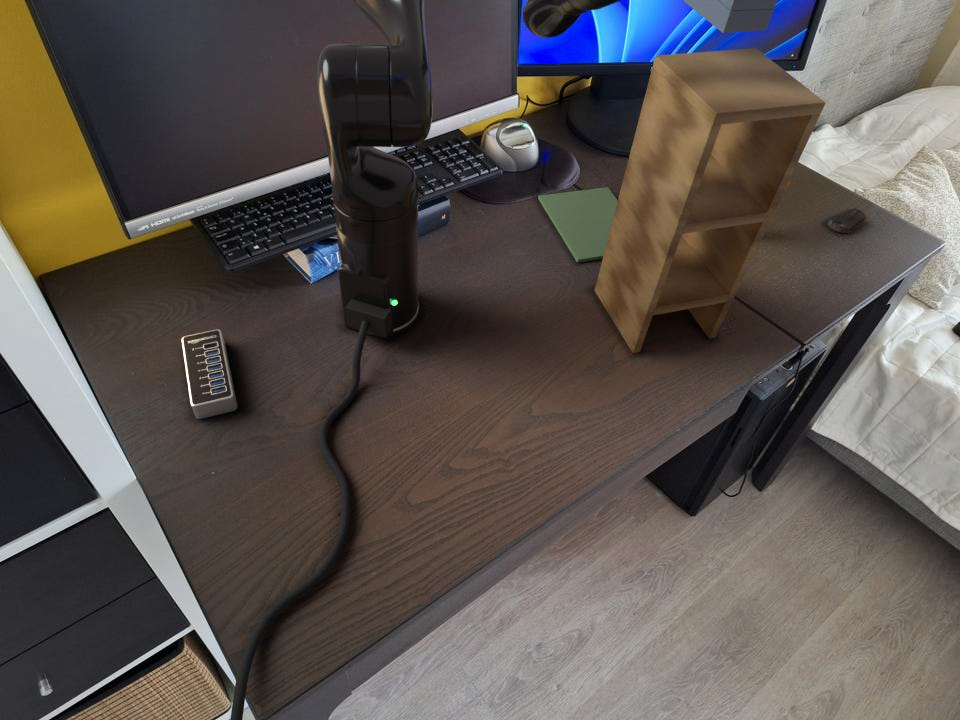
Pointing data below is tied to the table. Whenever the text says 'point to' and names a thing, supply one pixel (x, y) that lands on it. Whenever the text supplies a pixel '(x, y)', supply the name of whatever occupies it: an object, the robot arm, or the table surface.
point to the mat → (582, 220)
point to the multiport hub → (208, 374)
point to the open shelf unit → (701, 185)
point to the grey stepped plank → (735, 14)
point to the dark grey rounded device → (846, 220)
